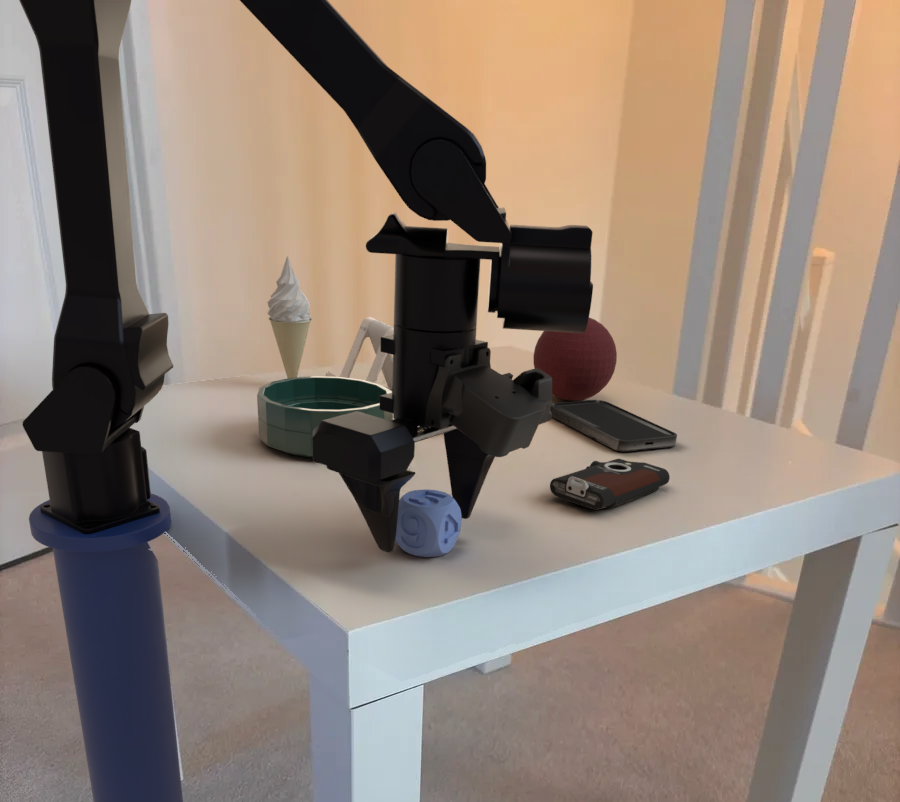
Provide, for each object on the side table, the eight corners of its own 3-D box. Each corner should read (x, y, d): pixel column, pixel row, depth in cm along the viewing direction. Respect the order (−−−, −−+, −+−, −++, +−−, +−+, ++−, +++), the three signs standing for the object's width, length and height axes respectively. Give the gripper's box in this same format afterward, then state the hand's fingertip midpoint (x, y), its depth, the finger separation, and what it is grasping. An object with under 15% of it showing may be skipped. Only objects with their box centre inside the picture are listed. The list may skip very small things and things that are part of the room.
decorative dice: (460, 544, 71) (463, 496, 69) (436, 562, 68) (439, 512, 66) (415, 532, 73) (417, 485, 71) (390, 549, 69) (391, 500, 68)
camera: (543, 470, 80) (613, 448, 88) (542, 500, 81) (611, 476, 89) (603, 483, 76) (672, 460, 84) (601, 515, 77) (668, 489, 85)
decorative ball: (603, 415, 107) (615, 327, 102) (521, 403, 109) (528, 318, 105) (616, 395, 115) (627, 313, 111) (539, 385, 118) (547, 305, 113)
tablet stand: (324, 389, 110) (324, 318, 106) (384, 385, 114) (385, 316, 110) (352, 408, 103) (353, 333, 100) (414, 403, 107) (417, 330, 103)
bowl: (325, 472, 84) (325, 419, 82) (232, 440, 91) (229, 390, 89) (418, 442, 94) (419, 394, 91) (326, 415, 101) (326, 370, 98)
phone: (601, 399, 108) (681, 435, 96) (600, 408, 109) (679, 445, 97) (544, 403, 105) (620, 442, 93) (543, 413, 105) (618, 452, 94)
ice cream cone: (266, 383, 112) (260, 253, 105) (306, 380, 114) (303, 253, 107) (277, 393, 107) (272, 259, 101) (318, 391, 110) (316, 259, 103)
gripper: (441, 366, 52) (429, 608, 59) (605, 327, 65) (579, 529, 72) (304, 334, 58) (309, 557, 65) (480, 304, 71) (468, 493, 78)
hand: (426, 533), depth 70 cm, fingers open, 9 cm apart
